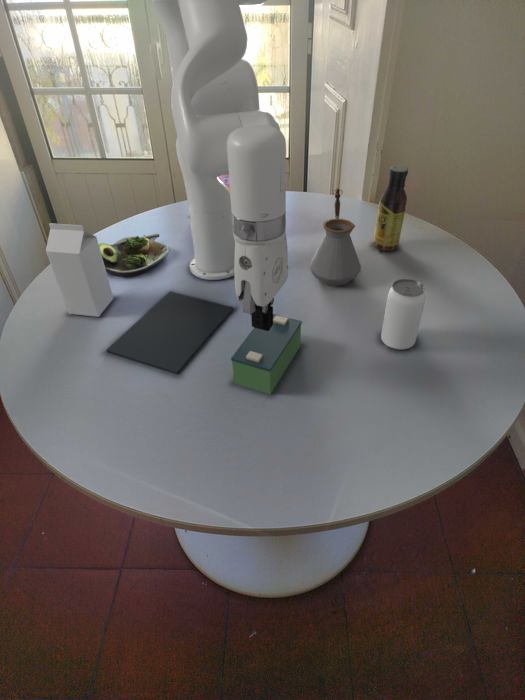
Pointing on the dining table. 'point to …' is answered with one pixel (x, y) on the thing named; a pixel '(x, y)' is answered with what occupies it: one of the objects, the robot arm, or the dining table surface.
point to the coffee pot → (336, 252)
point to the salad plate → (132, 255)
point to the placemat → (171, 332)
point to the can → (403, 314)
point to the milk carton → (79, 269)
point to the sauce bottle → (391, 210)
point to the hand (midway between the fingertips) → (262, 326)
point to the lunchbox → (267, 354)
